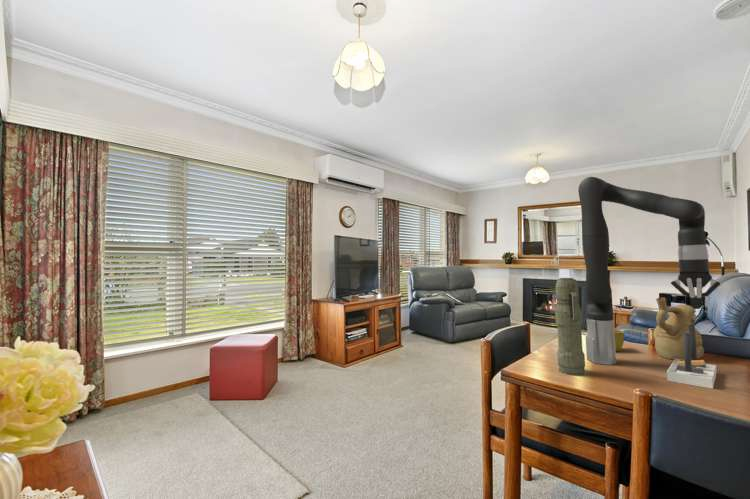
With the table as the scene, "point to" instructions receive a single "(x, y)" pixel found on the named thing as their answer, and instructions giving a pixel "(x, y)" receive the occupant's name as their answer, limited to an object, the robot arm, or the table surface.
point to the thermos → (569, 327)
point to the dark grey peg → (687, 352)
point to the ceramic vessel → (674, 330)
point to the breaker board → (692, 374)
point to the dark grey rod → (692, 342)
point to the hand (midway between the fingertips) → (696, 308)
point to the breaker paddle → (692, 362)
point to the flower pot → (618, 339)
